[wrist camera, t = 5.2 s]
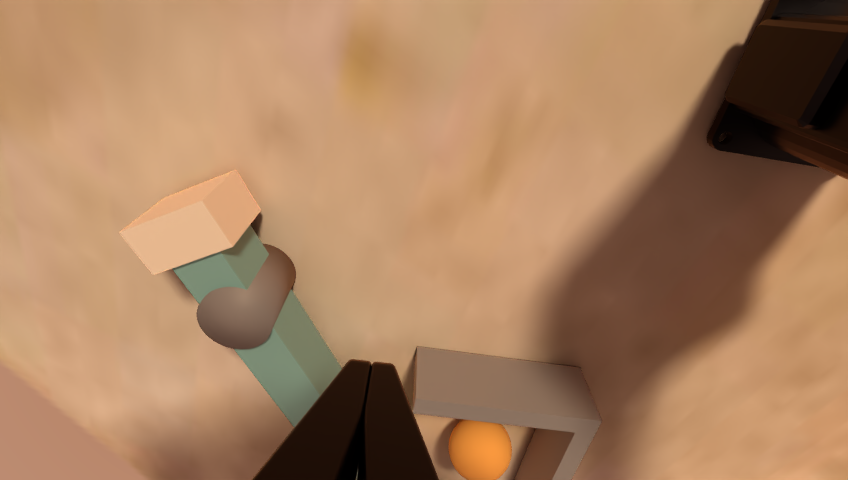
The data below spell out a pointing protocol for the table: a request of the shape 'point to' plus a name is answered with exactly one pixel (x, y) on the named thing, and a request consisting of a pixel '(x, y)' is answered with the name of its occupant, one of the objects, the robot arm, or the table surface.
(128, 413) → the table surface
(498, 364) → the pocket
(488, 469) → the ball
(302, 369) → the lever
